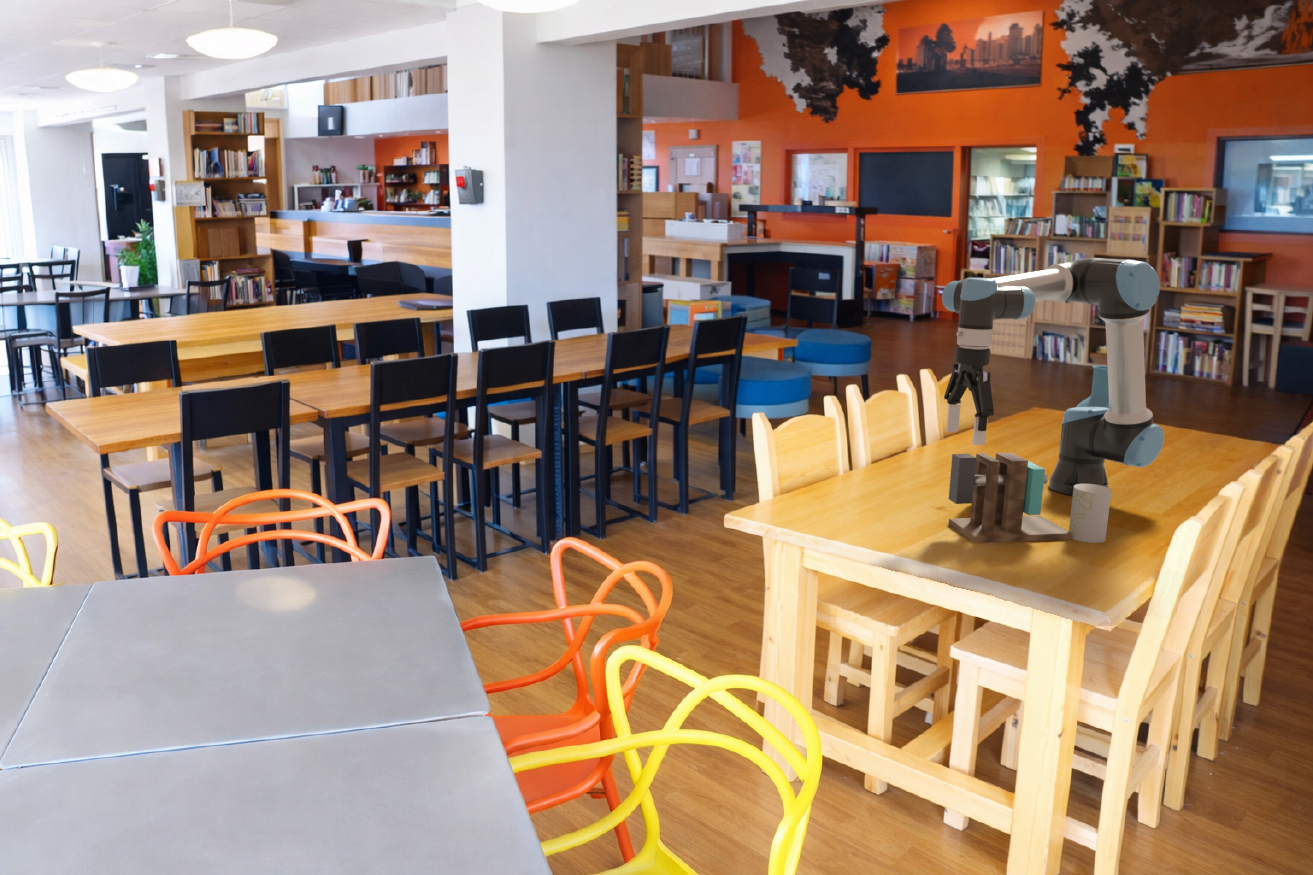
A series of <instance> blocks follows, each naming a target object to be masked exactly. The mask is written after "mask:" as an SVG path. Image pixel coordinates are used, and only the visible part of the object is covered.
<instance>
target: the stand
mask: <svg viewBox="0 0 1313 875" xmlns="http://www.w3.org/2000/svg"><path fill="white" fill-rule="evenodd" d="M975 457H976V465H975V475H986V485H985V486H974V488H973V499H972V504H971V510H970V517H959V518H958V517H956V518H948V525H949V526H950V527H952V528H953V529H954V530H956V531H957V532H958V531H959V532H958V533H960V534H961V535H962V536H964V537H965V538H967V539H969V540H970V541H971V542H973V543H974V544H986V543H987V544H988V543H1007V542H1008V543H1010V542H1011V543H1012V542H1013V543H1014V542H1036V541H1040V542H1041V541H1060V540H1061V541H1063V540H1072V538H1071V533H1070V532H1069V530H1066V529H1065V528H1063V527H1061V526H1059V525H1058V524H1056V523H1054V522H1053V521H1051V520H1049V519H1047V518H1046V517H1044V516H1042V515H1024V514H1023V513H1024V512H1023V507H1024V497H1025V488H1026V478H1027V468H1028V461H1029V460H1028V459H1025V458H1024V457H1021V456H1020V455H1017V454H1015V453H1013V452H996V453H995V458H994V457H992V456H990V455H989V454H986V453H984V452H983V453H982V452H981V453H980V452H979V453H975ZM999 474H1006V484H1005V485H998V478H999ZM984 495H985V496H984ZM983 506H984V507H983Z"/></svg>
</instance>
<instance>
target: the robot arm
mask: <svg viewBox="0 0 1313 875" xmlns="http://www.w3.org/2000/svg"><path fill="white" fill-rule="evenodd" d="M1160 286H1161V285H1160V279H1159V275H1158V273H1157V271H1156V270H1155V268H1154V267H1153V266H1151V265H1150V264H1149V263H1147V262H1146V261H1139V260H1135V259H1119V258H1118V259H1117V258H1102V257H1088V258H1082V259H1075V260H1070V261H1065V262H1062V263H1054V264H1051V265H1049V266H1048V267H1047V268H1046V269H1042V270H1035V271H1029V272H1023V273H1017V274H1011V275H1003V276H997V277H992V278H988V277H967V278H965V279H964V280H953V281H950V282H949V283H947V284H946V285H945V287H944V288H943V290H942V295H941V298H942V299H941V301H942V305H943V306H944V308H945V309H946V310H947V311H950V312H953V313H956V314H959V315H958V317H959V318H958V329H957V332H956V336H957V340H956V343H957V345H958V346H956V348H955V357H954V361H955V363H953V365H952V371H951V375H950V378H949V381H948V383H947V386H946V389H945V393H944V394H943V395H944V396H943V399H944V400H946V401H947V402H946V403H947V404H948V405H947V406H948V408H947V419H946V428H945V430H946V431H945V432H947V433H952V432H954V433H958V432H959V426H960V414H961V405H962V400H961V399H962V397H963V396H964V394H965V393H966V391H967V389H968V391H970V392H971V396H972V400H973V403H974V408H975V412H976V413H975V414H974V422H973V431H972V432H973V434H972V441H971V442H972V445H973V446H977V445H978V446H980V445H981V446H984V445H986V439H987V438H986V437H987V428H988V419H989V417H990V416H994V414H995V410H994V402H993V395H992V394H993V393H992V385H991V372H990V371H984V366H988V365H989V364H990V362H991V361H990V360H991V349H990V347H991V346H992V339H993V330H994V329H993V328H994V321H995V320H996V321H997V320H1019V319H1020V320H1021V319H1025V318H1027V317H1029V316H1030V315H1031V314H1032V313H1033V312H1034V309H1035V308H1036V307H1035V306H1036V303H1037V302H1043V301H1048V300H1050V301H1052V302H1055V303H1060V302H1075V303H1082V304H1088V305H1089V304H1090V305H1095V306H1097V312H1098V318H1100V319H1101V320H1103V322H1105V337H1106V338H1105V340H1106V341H1105V342H1106V359H1107V360H1106V361H1107V362H1106V363H1107V366H1108V385H1109V406H1110V409H1109V408H1106V407H1076V406H1075V407H1070V408H1067V409H1066V410H1065V411H1064V413H1063V418H1062V422H1061V430H1060V431H1061V433H1060V440H1059V441H1060V442H1059V451H1058V452H1059V454H1058V460H1057V463H1056V465H1055V467H1054V469H1053V471H1052V472H1051V476H1050V477H1049V480H1048V482H1049V483H1048V487H1049V489H1050V490H1052V491H1054V492H1057V493H1061V494H1064V495H1068V496H1073V489H1074V485H1076V484H1095V485H1101V486H1105V487H1108V488H1109V482H1108V477H1107V474H1106V473H1107V472H1106V468H1105V460H1107V461H1111V462H1116V463H1119V464H1121V465H1126V466H1128V467H1136V468H1144V467H1147V466H1149V465H1151V464H1152V463H1153V462H1154V461H1155V460H1156V459H1157V458H1158V456H1159V454H1160V453H1161V450H1162V448H1163V445H1164V443H1165V432H1164V430H1163V428H1162V427H1161V426H1160V425H1158V424H1156V423H1154V414H1153V412H1152V410H1150V409H1149V408H1148V407H1147V401H1146V400H1147V397H1146V394H1147V393H1146V369H1145V346H1144V344H1145V341H1144V340H1145V338H1144V318H1146V317H1147V315H1149V313H1150V309H1151V308H1152V307H1153V306H1154V305H1155V304H1156V302H1157V301H1158V298H1157V297H1158V296H1159V295H1160V289H1161V287H1160Z"/></svg>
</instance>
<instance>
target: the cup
mask: <svg viewBox="0 0 1313 875" xmlns="http://www.w3.org/2000/svg"><path fill="white" fill-rule="evenodd" d="M1111 496H1112V489H1111V488H1110V487H1109V486H1108V487H1105V486H1101V485H1095V484H1076V485H1074V489H1073V495H1072V497H1071V498H1072V499H1071V509H1070V519H1069V526H1068V532H1070V533H1071V540H1075V541H1078V542H1083V543H1090V544H1091V543H1092V544H1098V543H1104V542H1105V541H1106V537H1107V529H1108V522H1109V521H1108V520H1109V514H1110V513H1109V512H1110V505H1111Z"/></svg>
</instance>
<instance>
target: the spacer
mask: <svg viewBox="0 0 1313 875" xmlns="http://www.w3.org/2000/svg"><path fill="white" fill-rule="evenodd" d="M1045 473H1046V469H1045V468H1044V467H1043V466H1042V467H1041V466H1040V465H1038V464H1035V463H1034V462H1032V461H1030V460H1028V468H1027V478H1026V488H1025V497H1024V507H1023V513H1024V514H1026V516H1041V512H1042V502H1043V492H1044V485H1045V484H1044V475H1045Z"/></svg>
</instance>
